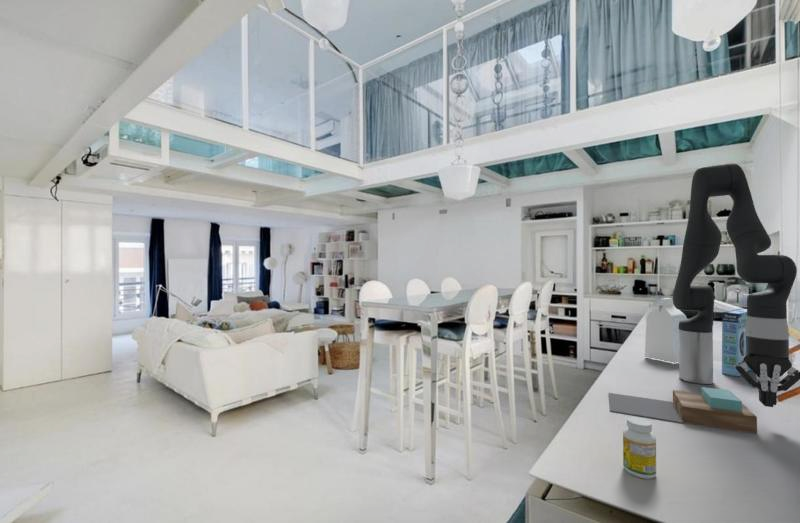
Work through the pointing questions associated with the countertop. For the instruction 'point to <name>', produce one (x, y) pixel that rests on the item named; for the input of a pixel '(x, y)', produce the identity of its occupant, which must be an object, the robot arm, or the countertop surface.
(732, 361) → the gum box
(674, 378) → the countertop surface
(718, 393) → the teal foam pad
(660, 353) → the milk
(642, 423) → the supplement bottle
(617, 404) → the mat
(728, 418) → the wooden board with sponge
